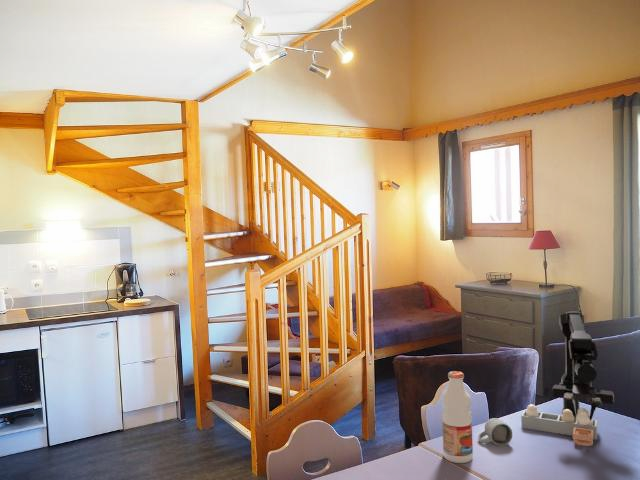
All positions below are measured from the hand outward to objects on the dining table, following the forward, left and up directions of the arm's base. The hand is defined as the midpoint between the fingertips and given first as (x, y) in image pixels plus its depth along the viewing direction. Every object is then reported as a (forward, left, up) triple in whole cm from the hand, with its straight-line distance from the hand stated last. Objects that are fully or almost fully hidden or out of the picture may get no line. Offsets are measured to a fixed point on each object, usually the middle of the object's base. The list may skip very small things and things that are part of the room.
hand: (582, 418), depth 179 cm
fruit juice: (+29, -35, -9) cm, 46 cm away
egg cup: (0, 0, -8) cm, 8 cm away
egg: (0, 0, -2) cm, 2 cm away
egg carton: (-8, -9, -8) cm, 14 cm away
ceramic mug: (+12, -27, -9) cm, 31 cm away
